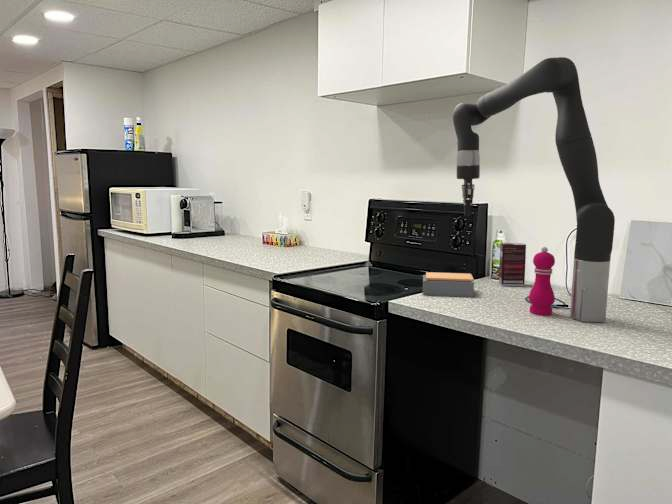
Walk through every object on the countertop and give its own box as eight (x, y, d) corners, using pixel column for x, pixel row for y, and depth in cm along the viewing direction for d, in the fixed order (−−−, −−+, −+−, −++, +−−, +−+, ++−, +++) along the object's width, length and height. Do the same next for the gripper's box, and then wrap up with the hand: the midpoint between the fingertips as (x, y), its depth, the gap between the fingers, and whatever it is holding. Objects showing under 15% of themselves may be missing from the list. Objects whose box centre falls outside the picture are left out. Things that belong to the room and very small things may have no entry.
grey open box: (473, 296, 172) (473, 282, 171) (422, 295, 175) (423, 280, 174) (470, 290, 183) (470, 276, 182) (422, 288, 185) (423, 274, 185)
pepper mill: (538, 316, 147) (542, 249, 145) (522, 310, 154) (526, 245, 151) (559, 315, 149) (563, 248, 146) (543, 309, 156) (547, 245, 153)
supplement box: (521, 284, 193) (523, 242, 191) (524, 286, 188) (526, 244, 186) (497, 283, 194) (499, 242, 192) (500, 286, 189) (502, 244, 187)
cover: (473, 281, 172) (473, 279, 172) (426, 280, 175) (426, 277, 175) (470, 275, 183) (470, 273, 182) (425, 274, 185) (426, 271, 185)
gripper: (455, 165, 177) (455, 215, 179) (457, 164, 164) (457, 217, 166) (477, 165, 175) (477, 214, 178) (481, 163, 163) (481, 217, 165)
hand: (467, 216), depth 172 cm, fingers closed
